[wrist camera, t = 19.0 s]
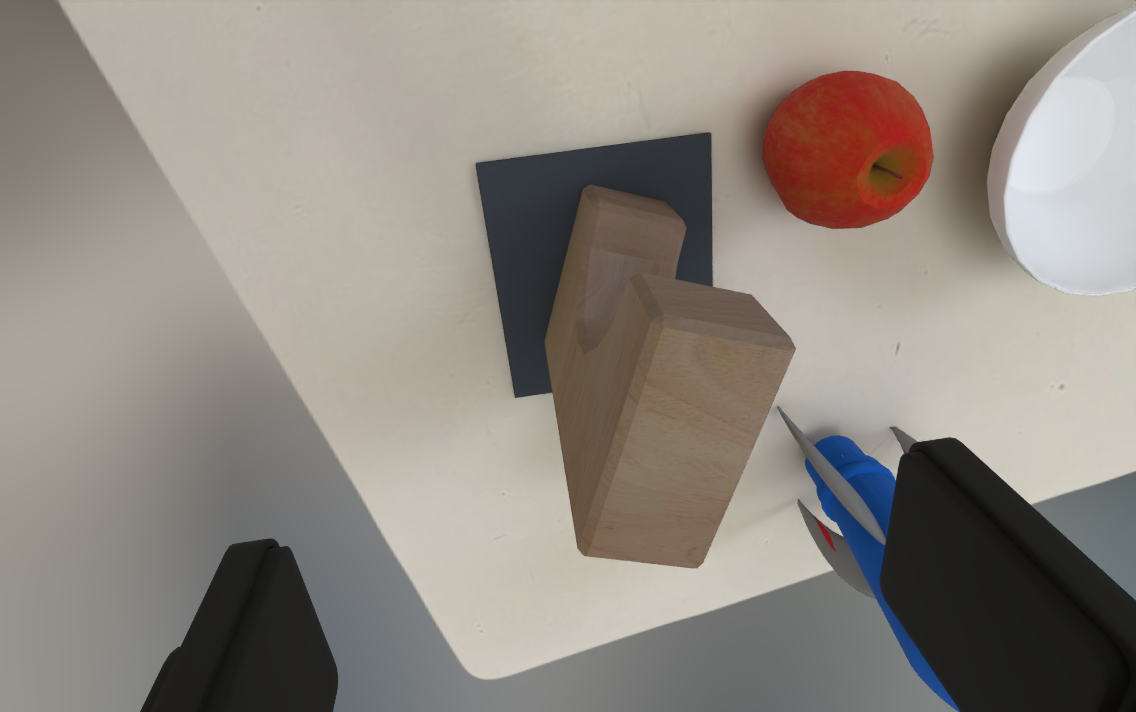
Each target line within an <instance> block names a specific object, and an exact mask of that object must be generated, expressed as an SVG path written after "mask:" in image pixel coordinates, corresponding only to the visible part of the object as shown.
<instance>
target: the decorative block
mask: <svg viewBox="0 0 1136 712" xmlns="http://www.w3.org/2000/svg"><path fill="white" fill-rule="evenodd" d="M686 228H687V227H686V225H685V223H684V221H683V220H682V219H681V217H680V216H679V215H678V214H677V213H676V212H675V211H674V210H673V209H672V208H671V207H670V206H669V205H668V204H667V203H666V201H661V200H657V199H653V198H648V197H644V196H639V195H635V194H631V193H626V192H622V191H617V190H613V189H609V188H604V187H600V186H595V185H591V184H590V185H588V186H587V187H585V188H584V189H583V190H582V194H581V198H580V202H579V206H578V210H577V214H576V218H575V222H574V226H573V230H572V234H571V238H570V242H569V246H568V250H567V254H566V258H565V261H564V265H563V269H562V273H561V277H560V281H559V285H558V289H557V293H556V297H555V301H554V305H553V309H552V313H551V317H550V321H549V325H548V329H547V333H546V337H545V341H544V342H545V348H546V354H547V361H548V367H549V374H550V380H551V386H552V392H553V398H554V404H555V411H556V417H557V423H558V429H559V436H560V442H561V448H562V455H563V461H564V468H565V474H566V480H567V486H568V492H569V498H570V505H571V511H572V517H573V523H574V529H575V535H576V542H577V548H578V549H579V551H580V552H581V553H582V554H583V555H584V556H589V557H598V558H607V559H616V560H625V561H633V562H642V563H651V564H660V565H669V566H677V567H686V568H698V567H699V566H700V565H701V564H702V563H703V562H704V559H705V557H706V555H707V552H708V550H709V548H710V546H711V543H712V541H713V539H714V537H715V534H716V532H717V530H718V527H719V525H720V523H721V521H722V518H723V516H724V514H725V511H726V509H727V507H728V505H729V502H730V500H731V498H732V495H733V493H734V491H735V489H736V486H737V484H738V482H739V479H740V477H741V475H742V473H743V470H744V468H745V466H746V463H747V461H748V459H749V456H750V454H751V452H752V449H753V447H754V445H755V442H756V440H757V438H758V436H759V433H760V431H761V429H762V426H763V424H764V422H765V419H766V417H767V415H768V412H769V410H770V408H771V405H772V403H773V401H774V398H775V396H776V394H777V391H778V389H779V387H780V384H781V382H782V380H783V377H784V375H785V373H786V370H787V368H788V366H789V363H790V361H791V359H792V356H793V354H794V352H795V349H796V348H795V346H794V344H793V342H792V340H791V338H790V337H789V336H788V335H787V333H786V332H785V331H784V330H783V329H782V328H781V327H780V326H779V325H778V323H777V322H776V321H775V320H774V319H773V318H772V317H771V316H770V315H769V313H768V312H767V311H766V310H765V309H764V308H763V307H762V306H761V305H760V304H759V302H758V301H757V300H756V299H755V298H754V297H753V296H752V295H750V294H745V293H740V292H735V291H730V290H726V289H721V288H716V287H711V286H706V285H701V284H696V283H691V282H686V281H681V280H676V279H675V278H676V269H677V264H678V260H679V256H680V252H681V248H682V244H683V240H684V236H685V232H686Z"/></svg>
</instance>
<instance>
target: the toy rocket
mask: <svg viewBox="0 0 1136 712" xmlns="http://www.w3.org/2000/svg"><path fill="white" fill-rule="evenodd" d="M777 408H778V410H779V412H780V414H781V416H782V417H783V419H784V421H785V423H786V425H787V426H788V428H789V430H790V431H791V433H792V435H793V436H794V438H795V440H796V441H797V443H798V444H799V446H800V447H801V449H802V450H803V452H804V453H805V455H806V460H805V465H806V470H807V472H808V473H809V475H810V476H811V478H812V480H813V481H814V483H815V484H816V486H817V495H818V498H819V500H820V501H821V505H822V509H823V510H824V512H825V514H826V515H827V516H828V517H829V518H830V519H831V520H833V521H834V522H836V523H837V525H838V526H839V528H840V530H841V532H842V534H843V536H844V537H843V536H840V535H838V534H837V533H835V532H833V531H832V530H831V529H829V528H828V527H827V526H825V525H824V524H823V523H822V522H820V521H819V520H818V519H817V518H816V517H815V516H814V515H813V514H812V513H811V512H810V511H809V510H808V509H807V508H806V507H805V506H804V505H803V504H802V503H801V501H800V500H799V499H798V506H799V508H800V511H801V513H802V516H803V518H804V520H805V523H806V525H807V527H808V529H809V531H810V533H811V535H812V537H813V539H814V541H815V543H816V544H817V546H818V548H819V549H820V551H821V553H822V554H823V556H824V557H825V559H826V560H827V561H828V563H829V564H830V565H831V567H832V568H833V569H834V570H835V571H836V572H837V573H838V575H839V576H840V577H841V578H842V579H843V580H844V581H846V582H847V583H848V584H849V585H850V586H852V587H853V588H855V589H856V590H858V591H859V592H861V593H863V594H865V595H867V596H870V597H872V598H875V599H877V601H878V603H879V605H880V607H881V609H882V611H883V613H884V615H885V617H886V618H887V620H888V622H889V624H890V626H891V628H892V630H893V632H894V634H895V636H896V638H897V639H898V641H899V643H900V645H901V647H902V649H903V651H904V653H905V655H906V657H907V659H908V660H909V662H910V664H911V666H912V667H913V669H914V670H915V672H916V673H917V674H918V676H919V677H920V678H921V679H922V680H923V681H924V682H925V683H926V684H927V685H928V686H929V687H930V688H931V689H932V690H933V691H934V692H935V693H936V694H937V695H938V696H939V697H940V698H942V699H943V700H944V701H945V702H946V703H948V704H949V705H950V706H951V707H953V708H954V709H955V710H957V711H958V712H960V710H959V709H958V707H957V706H956V705H955V703H954V702H953V700H952V699H951V697H950V696H949V694H948V693H947V691H946V690H945V688H944V687H943V685H942V684H941V682H940V681H939V679H938V678H937V677H936V675H935V674H934V672H933V671H932V669H931V668H930V666H929V665H928V663H927V662H926V660H925V659H924V657H923V656H922V654H921V653H920V651H919V650H918V648H917V647H916V646H915V644H914V643H913V641H912V640H911V638H910V637H909V635H908V634H907V632H906V631H905V629H904V628H903V626H902V625H901V623H900V622H899V620H898V619H897V618H896V616H895V615H894V613H893V612H892V610H891V609H890V607H889V606H888V604H887V603H886V601H885V599H884V597H883V594H882V591H881V587H880V573H881V567H882V561H883V555H884V550H885V544H886V538H887V532H888V526H889V520H890V514H891V508H892V502H893V496H894V491H895V485H896V480H895V478H894V476H893V474H892V473H891V472H890V471H889V469H887V468H886V467H884V466H883V465H881V464H880V463H879V462H878V461H877V460H876V459H874V458H872V457H870V456H867V455H865V454H864V453H863V452H862V451H861V449H860V448H859V447H858V446H857V445H856V444H855V443H854V442H853V441H852V440H850V439H849V438H847V437H843V436H830V437H827V438H825V439H822V440H821V441H819V442H817V443H816V444H815V445H813V444H812V443H811V442H810V441H809V440H808V439H807V437H806V436H805V435H804V434H803V433H802V432H801V431H800V430H799V428H798V427H797V426H796V425H795V424H794V423H793V422H792V421H791V420H790V419H789V417H788V416H787V415H786V414H785V413H784V412H783V411H782V410H781V408H779V407H777ZM890 428H891V429H892V431H893V433H894V434H895V436H896V438H897V440H898V441H899V443H900V445H901V447H902V449H903V452H904V454H906V453H908V452H909V449H910V447H911V446H912V444H914V443H917V441H916V440H915V439H913V438H912V437H910V436H909V435H907V434H906V433H904V432H903V431H901V430H900V429H898V428H897V427H890Z"/></svg>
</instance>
